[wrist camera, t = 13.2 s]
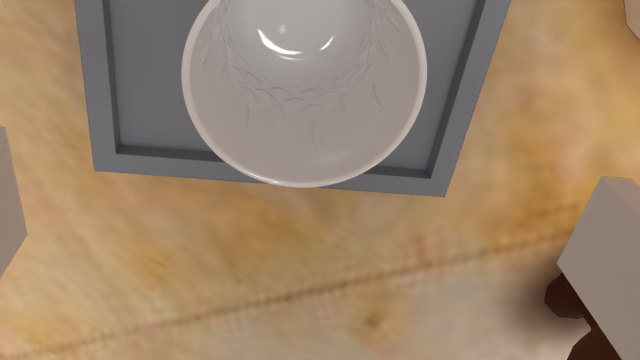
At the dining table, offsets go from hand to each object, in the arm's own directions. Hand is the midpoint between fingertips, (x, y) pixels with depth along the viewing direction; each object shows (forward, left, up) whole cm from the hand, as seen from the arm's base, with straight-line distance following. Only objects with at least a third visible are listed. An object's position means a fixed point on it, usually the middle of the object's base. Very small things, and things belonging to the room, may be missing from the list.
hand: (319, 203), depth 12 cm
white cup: (0, 0, -16) cm, 16 cm away
